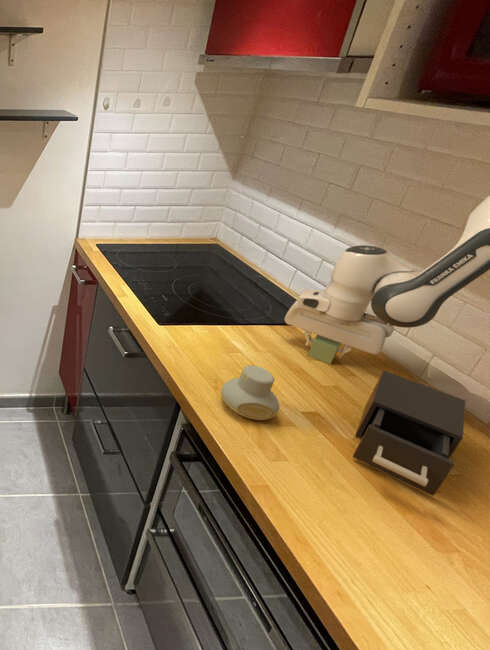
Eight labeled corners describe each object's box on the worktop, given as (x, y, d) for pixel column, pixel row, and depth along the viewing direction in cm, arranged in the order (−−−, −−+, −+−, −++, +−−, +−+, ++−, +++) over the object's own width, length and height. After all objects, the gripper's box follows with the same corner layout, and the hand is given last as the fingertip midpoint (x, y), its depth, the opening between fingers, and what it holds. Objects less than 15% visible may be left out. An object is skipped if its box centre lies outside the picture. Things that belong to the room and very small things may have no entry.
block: (334, 356, 119) (341, 341, 117) (330, 364, 115) (337, 348, 113) (311, 348, 122) (318, 332, 120) (307, 355, 119) (313, 340, 117)
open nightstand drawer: (431, 513, 77) (452, 481, 74) (347, 471, 84) (364, 440, 81) (438, 455, 88) (457, 425, 85) (364, 422, 96) (379, 394, 93)
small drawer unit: (438, 474, 85) (463, 437, 81) (354, 436, 93) (373, 400, 89) (443, 435, 94) (465, 400, 90) (366, 403, 102) (383, 370, 99)
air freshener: (223, 416, 98) (236, 380, 94) (214, 391, 105) (225, 357, 101) (279, 427, 95) (295, 390, 91) (266, 401, 103) (280, 366, 98)
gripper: (398, 318, 107) (375, 364, 113) (298, 287, 121) (282, 330, 127) (395, 328, 103) (371, 375, 109) (292, 295, 117) (275, 338, 123)
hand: (322, 351), depth 118 cm, fingers closed on block, 5 cm apart
